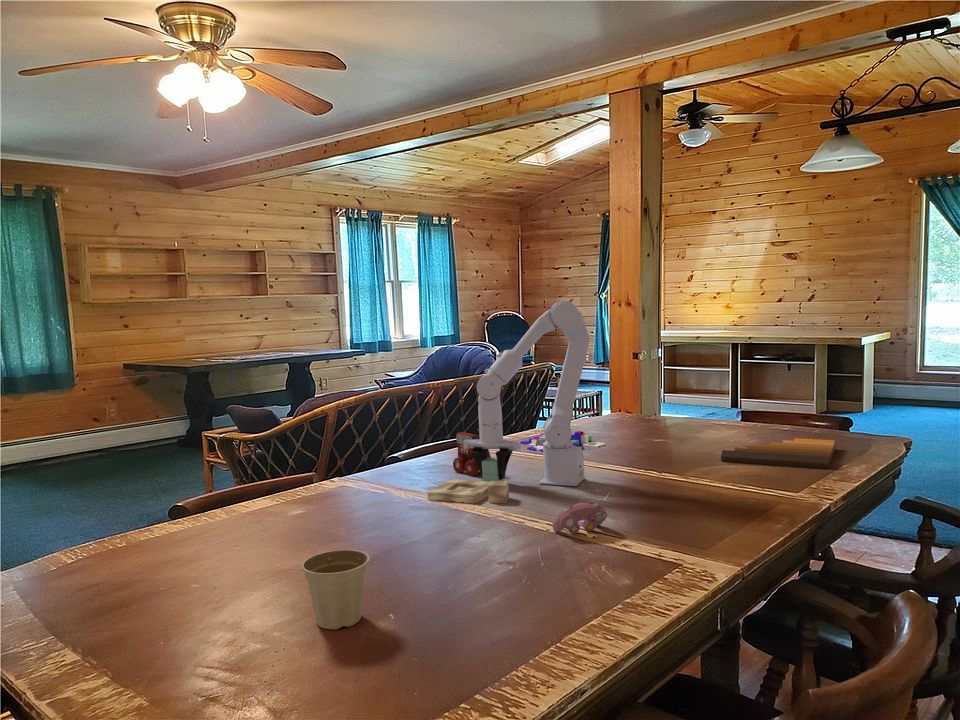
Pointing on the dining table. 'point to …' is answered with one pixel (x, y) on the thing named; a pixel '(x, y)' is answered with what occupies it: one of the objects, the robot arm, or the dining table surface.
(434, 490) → the base plate
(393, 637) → the dining table surface
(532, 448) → the building block set
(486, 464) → the teal brick
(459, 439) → the toy fire truck
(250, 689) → the dining table surface
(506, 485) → the maple cube
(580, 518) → the video game controller
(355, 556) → the flower pot
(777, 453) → the pan flute
